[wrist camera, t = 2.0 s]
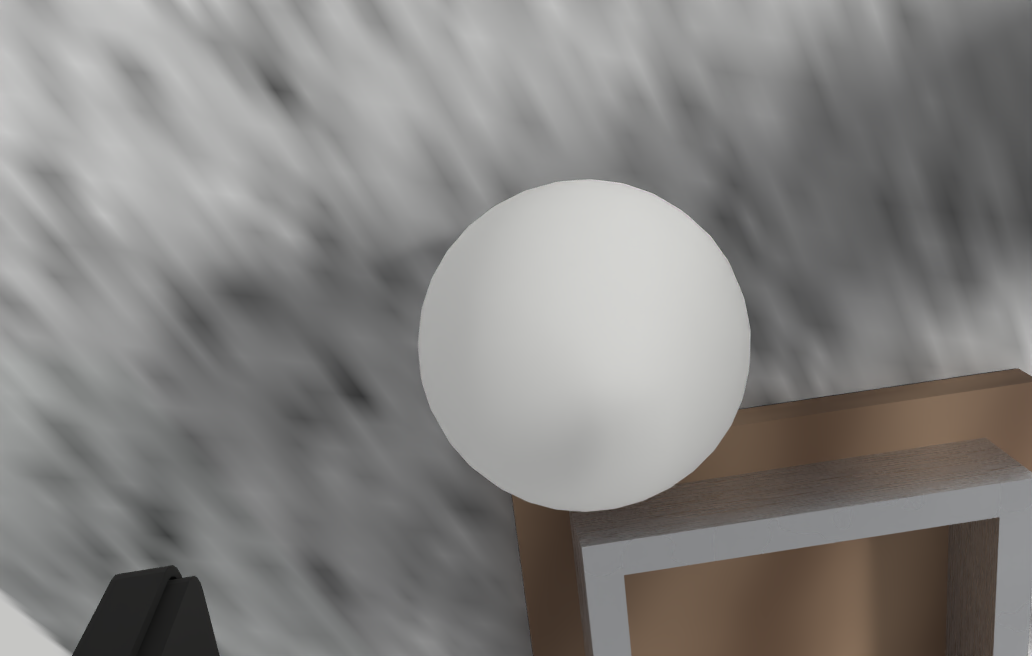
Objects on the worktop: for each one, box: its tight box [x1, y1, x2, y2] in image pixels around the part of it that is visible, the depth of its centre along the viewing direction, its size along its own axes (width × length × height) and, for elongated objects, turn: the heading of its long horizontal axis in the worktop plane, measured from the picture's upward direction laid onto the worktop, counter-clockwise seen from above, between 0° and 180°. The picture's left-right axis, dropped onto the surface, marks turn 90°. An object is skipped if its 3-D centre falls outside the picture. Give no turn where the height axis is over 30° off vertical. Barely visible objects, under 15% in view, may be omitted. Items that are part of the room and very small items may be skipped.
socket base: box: [512, 369, 1032, 656], centre depth 29 cm, size 15×15×1 cm
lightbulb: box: [418, 179, 751, 512], centre depth 20 cm, size 6×6×11 cm
